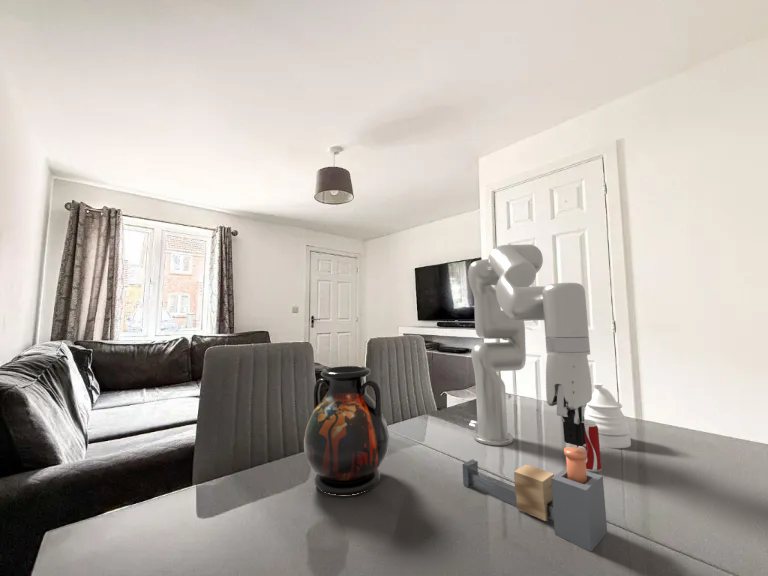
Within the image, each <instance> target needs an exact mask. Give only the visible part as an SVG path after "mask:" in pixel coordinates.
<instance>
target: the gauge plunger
mask: <svg viewBox="0 0 768 576" xmlns="http://www.w3.org/2000/svg"><path fill="white" fill-rule="evenodd" d="M563 455H564V456H565V461H566V467H567V476H568V479H570V480H573V481H576V482H579V483H582V484H586V483H587V473H586V461H585V459H586V458H587V452H586V451H585V450H583V449H581V448H577V446H565V447H564V448H563Z"/></svg>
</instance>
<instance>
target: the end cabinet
mask: <svg viewBox="0 0 768 576" xmlns="http://www.w3.org/2000/svg"><path fill="white" fill-rule="evenodd" d="M586 473H587V483H586V484H582V483H579V482H576V481H573V480H570V479H568V476H567V466H566V467H565V468H563V469H561V471H559V472H558V473H557V474H554V477H552V478H551V482H552V497H553V512H554V524H553V526H554V535H556V536H558V537H559V538H562V539H564V540H566V541H568V542H570V543H572V544H575V545H577V546H579V547H581V548H583V549H585V550H587V551H589V552H592V551H593V550H594V548H595V547H596V546H597V545H598V544H599V543H600V541H601V540H602V539H603V538H604V536H605V535H606V534H607V533H608V524H607V512H606V511H607V510H606V500H605V486H604V476H603V475H601V474H597V473H596V472H589V471H586Z"/></svg>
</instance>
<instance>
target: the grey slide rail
mask: <svg viewBox="0 0 768 576" xmlns="http://www.w3.org/2000/svg"><path fill="white" fill-rule="evenodd" d="M478 462H479V461H478V460H475V459H473V458H472V459H470V460H468V461H465V462H463V463H462V465H461V466H462V479H463V481H462V483H463V485H464V487H466V488H468V487H469V488H471V487H470V486H472V488H473V487H474V489H475V490H478V491H480V492H482V491H483V492H482V493H484V492H485V494H486V495H489V496H492V497H494V498H496V499H498V500H500V501H503V502H504V503H507V504H509V505H512V506H513V507H516V508H517V500H516V494H515V485H511V484H509V483H506V482H504V481H502V480H499V479H497V478H494V477H492V476H489V475H487V474H484V473H482V472H480V471H479V467H478V465H479V464H478ZM547 517H548V520H547V521H546V522H548V523H551V524H553V525H554V512H553V502H551V501H550V502H549V503H548V504H547Z"/></svg>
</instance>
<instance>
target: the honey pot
mask: <svg viewBox="0 0 768 576" xmlns="http://www.w3.org/2000/svg"><path fill="white" fill-rule="evenodd" d="M592 385H593V388H594V391H593V392H592V399H591V401H590V402H589V403H587V405H586V407H585V409H584V418H585V419H587V420H592V421H595V422H596V425H597V427H598V432H599V444H600V447H604V448H611V449H626V448H629V447H631V446H632V445H631V444H632V441H631V439H632V438H631V433H630V432H631V431H630V426H629V424H628V423H627V419H626V418H625V414H624V413H623V411H622V408H623V404H622V403H620V402H618V401H617V399H616V398H615V397H614V395H612V393H611V392H610V391H609V390H608V389H607V388H605V387H603V383H601V382H599V383H597V382H593V383H592Z"/></svg>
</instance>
